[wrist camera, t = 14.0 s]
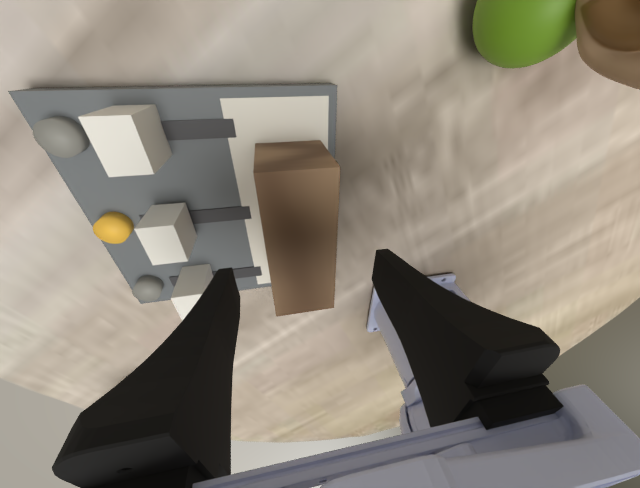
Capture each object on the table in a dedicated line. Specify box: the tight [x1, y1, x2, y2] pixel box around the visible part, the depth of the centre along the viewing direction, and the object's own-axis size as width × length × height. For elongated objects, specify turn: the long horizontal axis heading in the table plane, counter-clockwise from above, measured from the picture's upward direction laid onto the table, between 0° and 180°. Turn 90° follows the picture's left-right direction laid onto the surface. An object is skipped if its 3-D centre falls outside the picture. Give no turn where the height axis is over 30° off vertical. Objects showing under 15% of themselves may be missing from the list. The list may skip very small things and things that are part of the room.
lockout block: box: [253, 140, 340, 316], centre depth 17 cm, size 4×10×5 cm, turn 0°
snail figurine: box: [473, 0, 640, 89], centre depth 11 cm, size 5×6×12 cm
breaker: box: [134, 203, 197, 265], centre depth 16 cm, size 2×3×3 cm
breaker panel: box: [8, 83, 337, 321], centre depth 17 cm, size 16×15×5 cm
